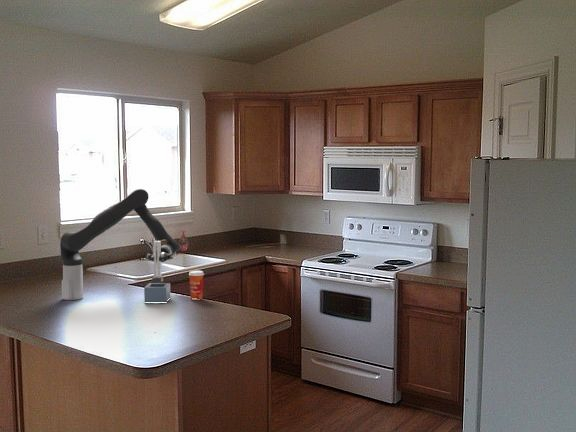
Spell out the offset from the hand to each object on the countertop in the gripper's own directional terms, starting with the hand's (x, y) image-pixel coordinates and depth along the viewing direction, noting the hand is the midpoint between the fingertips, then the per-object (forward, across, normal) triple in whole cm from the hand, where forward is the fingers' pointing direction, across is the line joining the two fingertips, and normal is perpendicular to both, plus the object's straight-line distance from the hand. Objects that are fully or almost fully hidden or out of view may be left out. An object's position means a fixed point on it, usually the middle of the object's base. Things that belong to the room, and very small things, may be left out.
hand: (156, 259), depth 306 cm
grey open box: (-3, 0, +22) cm, 22 cm away
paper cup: (-8, +18, +22) cm, 30 cm away
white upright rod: (-3, 0, +12) cm, 12 cm away
